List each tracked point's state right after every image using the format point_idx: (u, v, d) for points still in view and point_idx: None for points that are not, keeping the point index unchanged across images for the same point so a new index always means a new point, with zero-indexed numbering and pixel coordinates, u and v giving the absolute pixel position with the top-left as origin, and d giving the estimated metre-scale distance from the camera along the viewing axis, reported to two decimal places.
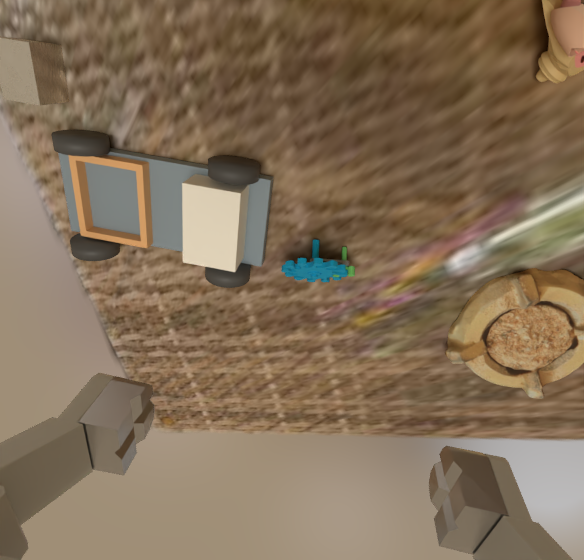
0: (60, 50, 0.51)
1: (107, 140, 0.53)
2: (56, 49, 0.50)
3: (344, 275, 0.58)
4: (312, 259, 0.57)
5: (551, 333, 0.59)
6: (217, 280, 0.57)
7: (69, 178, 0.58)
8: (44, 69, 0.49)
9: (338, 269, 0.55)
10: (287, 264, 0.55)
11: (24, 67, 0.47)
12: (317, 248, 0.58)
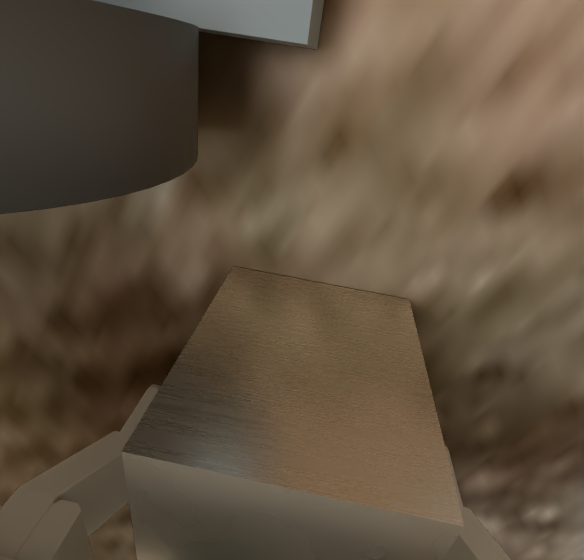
0: None
1: None
2: None
3: None
4: None
5: None
6: None
7: None
8: None
9: None
10: None
11: None
12: None
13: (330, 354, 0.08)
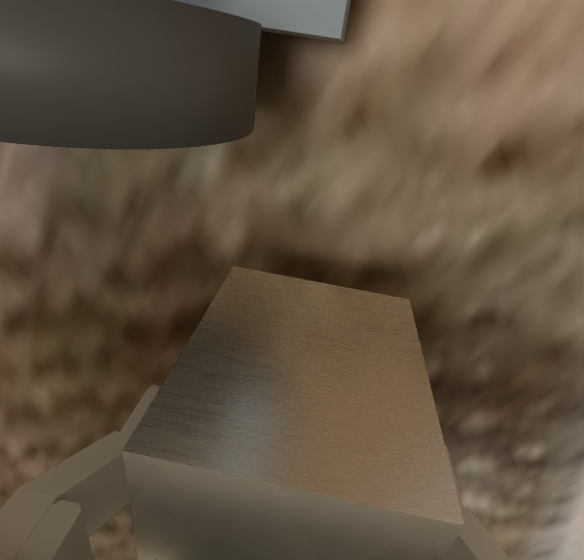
0: None
1: None
2: None
3: None
4: None
5: None
6: None
7: None
8: None
9: None
10: None
11: None
12: None
13: (331, 353, 0.08)
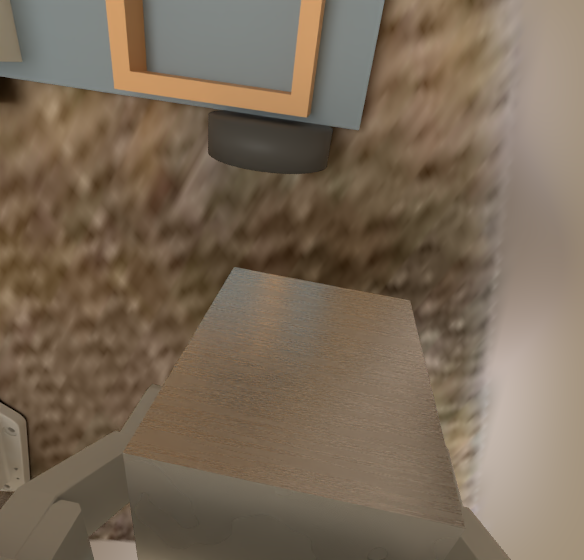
0: None
1: None
2: None
3: None
4: None
5: None
6: None
7: (359, 23, 0.20)
8: None
9: None
10: None
11: None
12: None
13: (331, 355, 0.08)
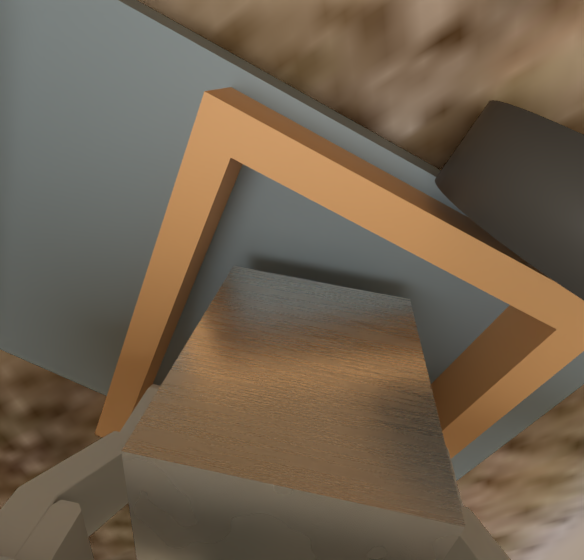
0: None
1: None
2: None
3: None
4: None
5: None
6: None
7: (450, 457, 0.15)
8: None
9: None
10: None
11: None
12: None
13: (331, 354, 0.08)
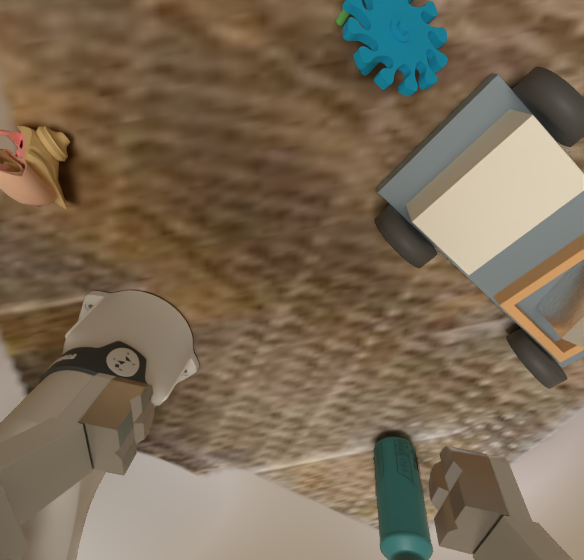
0: (541, 303, 0.42)
1: (509, 339, 0.44)
2: (544, 307, 0.41)
3: None
4: None
5: None
6: (579, 116, 0.29)
7: None
8: (573, 306, 0.38)
9: (356, 7, 0.29)
10: (409, 91, 0.31)
11: None
12: None
13: None
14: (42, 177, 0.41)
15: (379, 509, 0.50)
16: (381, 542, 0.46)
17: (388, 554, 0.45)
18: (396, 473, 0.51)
